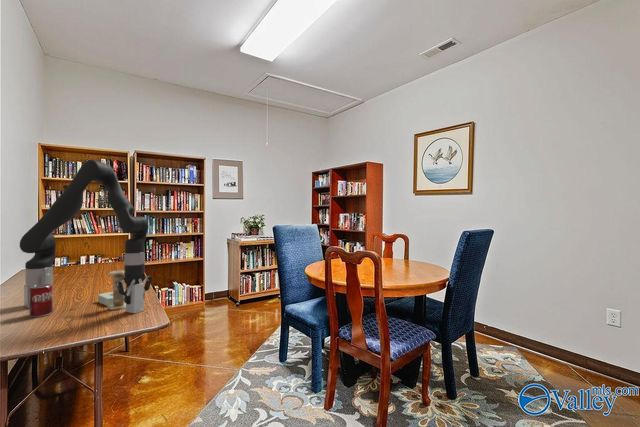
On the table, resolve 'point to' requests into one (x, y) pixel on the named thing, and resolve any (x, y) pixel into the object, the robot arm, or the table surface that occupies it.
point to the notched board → (106, 298)
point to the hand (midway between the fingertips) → (134, 302)
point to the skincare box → (136, 299)
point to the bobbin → (117, 298)
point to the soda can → (40, 300)
